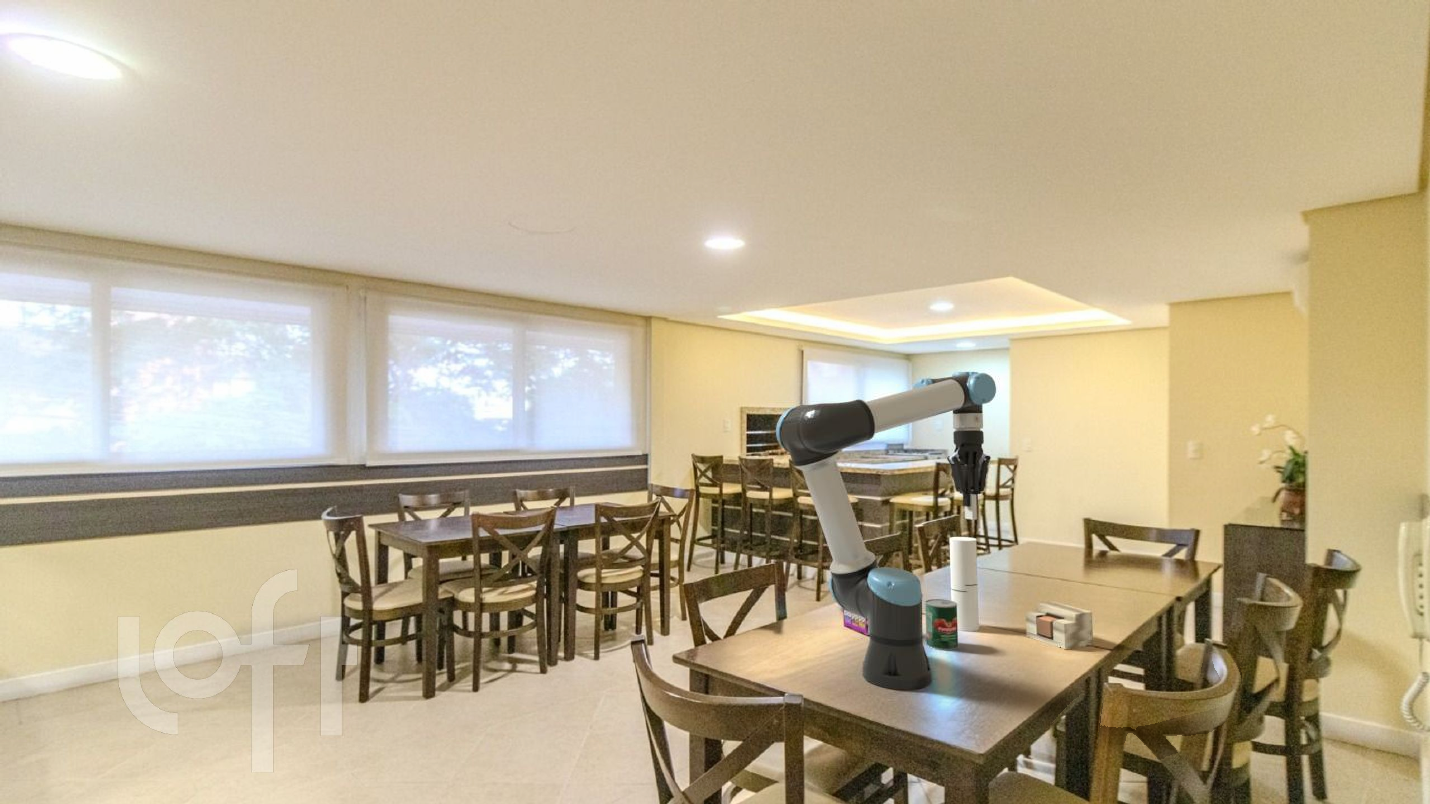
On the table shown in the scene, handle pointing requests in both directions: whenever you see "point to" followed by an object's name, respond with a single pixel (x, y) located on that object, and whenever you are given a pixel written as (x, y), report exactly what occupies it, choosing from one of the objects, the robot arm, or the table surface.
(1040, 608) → the sleeve
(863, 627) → the candy bar box
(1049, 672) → the table surface
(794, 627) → the table surface
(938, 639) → the canned tomato
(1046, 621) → the peg
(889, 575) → the robot arm
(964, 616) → the cylindrical container
